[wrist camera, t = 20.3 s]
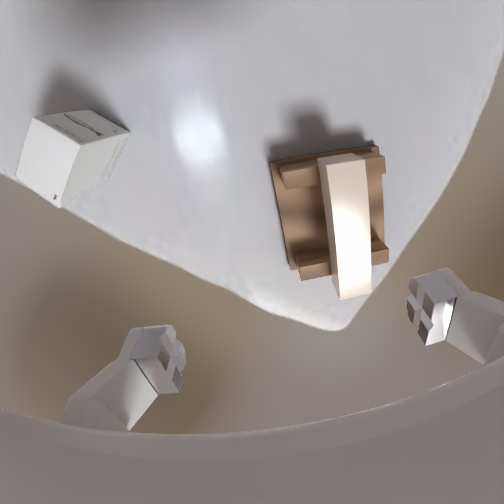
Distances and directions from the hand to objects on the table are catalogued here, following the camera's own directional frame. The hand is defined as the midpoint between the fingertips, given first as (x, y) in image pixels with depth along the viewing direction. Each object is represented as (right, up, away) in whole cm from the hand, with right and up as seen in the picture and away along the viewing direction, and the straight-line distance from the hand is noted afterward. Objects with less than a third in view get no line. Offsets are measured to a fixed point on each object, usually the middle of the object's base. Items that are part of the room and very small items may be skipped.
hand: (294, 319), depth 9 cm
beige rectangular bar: (+9, +6, +24) cm, 27 cm away
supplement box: (-22, +17, +24) cm, 36 cm away
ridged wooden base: (+9, +8, +29) cm, 31 cm away
